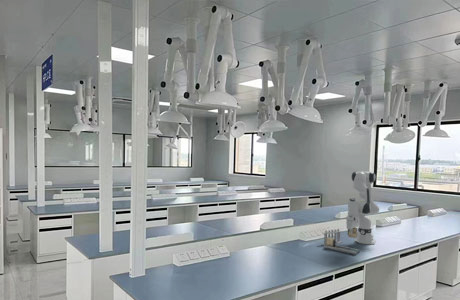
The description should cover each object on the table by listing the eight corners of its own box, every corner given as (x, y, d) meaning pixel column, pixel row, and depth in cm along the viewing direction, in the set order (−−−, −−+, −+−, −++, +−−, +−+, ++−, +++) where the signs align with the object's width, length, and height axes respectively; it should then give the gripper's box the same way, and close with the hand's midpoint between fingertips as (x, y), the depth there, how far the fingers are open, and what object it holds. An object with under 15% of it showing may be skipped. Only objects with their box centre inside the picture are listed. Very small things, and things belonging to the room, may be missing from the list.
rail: (328, 246, 297) (328, 236, 297) (358, 252, 278) (359, 242, 278) (324, 248, 289) (324, 238, 289) (354, 255, 271) (355, 244, 271)
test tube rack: (325, 245, 299) (325, 231, 299) (321, 244, 302) (321, 230, 303) (342, 242, 312) (342, 229, 312) (338, 241, 316) (338, 228, 316)
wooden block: (349, 235, 281) (349, 226, 282) (356, 237, 277) (357, 228, 277) (347, 236, 278) (347, 227, 279) (355, 238, 274) (355, 228, 274)
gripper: (353, 215, 288) (353, 230, 287) (345, 218, 272) (344, 234, 272) (360, 216, 284) (360, 231, 283) (352, 219, 268) (352, 235, 268)
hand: (352, 232), depth 277 cm, fingers closed on wooden block, 4 cm apart
